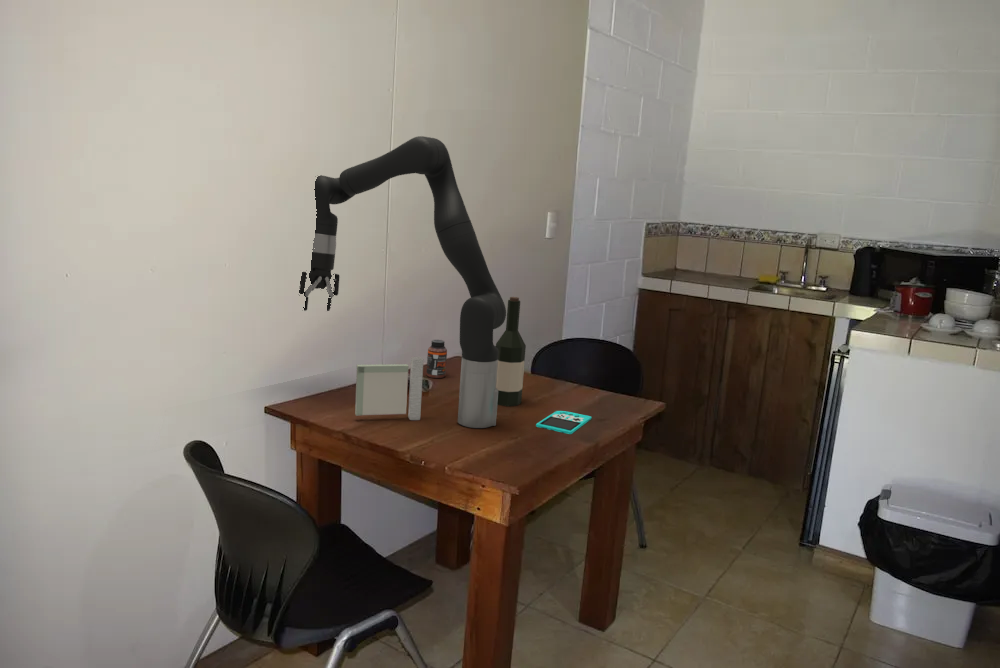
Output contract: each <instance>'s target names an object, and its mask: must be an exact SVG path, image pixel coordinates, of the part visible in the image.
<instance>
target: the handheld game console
mask: <svg viewBox="0 0 1000 668" xmlns="http://www.w3.org/2000/svg"><path fill="white" fill-rule="evenodd" d="M591 420H592V416H590V415H587V414H580V413H577V412H571V411H568V410H567V411H565V410H555V411H553V413H551V414H549V415H548V416H546V417H545V418H543V419H542V420H540V421H538V422H537V423H536V424H535V427H537V428H541V429H545V430H549V431H554V432H559V433H563V434H568V435H572V434H573V433H575V432H576V431H577V430H579V429H580V428H582V426H584V425H585V424H587V423H588V422H590V421H591Z"/></svg>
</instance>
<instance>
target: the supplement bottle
mask: <svg viewBox="0 0 1000 668" xmlns="http://www.w3.org/2000/svg"><path fill="white" fill-rule="evenodd" d="M447 356H448V349H447V348H446V346H445V340H442V339H432V340H431V344H430V346H429V347H428V349H427V357H426V358H427V361H426V376H427V377H429V378H430V379H431V378H432V379H443V378H445V377H446V373H447V358H448V357H447Z"/></svg>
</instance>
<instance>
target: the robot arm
mask: <svg viewBox="0 0 1000 668" xmlns="http://www.w3.org/2000/svg"><path fill="white" fill-rule="evenodd" d="M410 174H412V175H413V174H418V175H424V177H425V178H426V180H427V183H428V186H429V188H430V190H431V193H432V198H433V204H434V205H433V225H434V226H433V227H434V229H435V230H434V231H435V234H436V235H437V236H436V237H437V239H438V242H439V245H440V247H441V249H442V252H443V254H444V255H445V257H446V258H447V260H448V261H449V262H450V263H451V265H452V266H453V267H454V269H455V270H456V271H457V273H458V274H459V275H460V276H461V278H462V280H463V281H464V283H465V285H466V287H467V290H468V293H469V296H470V297H469V298H468V299H466V300H465V301H464V302H463V304H462V307H461V309H460V317H459V345H460V349H461V363H460V380H459V394H458V395H459V396H458V397H459V398H458V408H457V409H458V411H457V412H458V413H457V423H458V424H459V425H460V426H463V427H466V428H472V429H485V428H490V427H493V426H494V427H495V426H496V425H497V413H498V405H497V403H498V389H497V388H496V381H497V367H498V353H499V351H498V348H497V347H496V345H494V330H496V329H498V328H500V327H501V326H502V325H504V323H505V320H506V319H507V308H506V305H505V302H504V300H503V298H502V295H501V294H500V291H499V290H498V288H497V285H496V283H495V281H494V280H493V277H492V275H491V273H490V270H489V268H488V265H487V262H486V260H485V257H484V254H483V252H482V248H481V246H480V243H479V240H478V237H477V234H476V232H475V228H474V226H473V223H472V220H471V219H470V216H469V213H468V211H467V207H466V205H465V203H464V200H463V197H462V194H461V192H460V189H459V186H458V184H457V180H456V177H455V172H454V168H453V164H452V160H451V157H450V152H449V151H448V148H447V146H446V145H445V144H444V143H443V141H441V140H440V139H438V138H434V137H431V136H430V137H428V136H422V135H421V136H414V137H412V138H411V139H408V140H407V141H405V142H403V143H402V144H401V145H398V146H397V147H395V148H393V149H392V150H390V151H388V152H387V153H385V154H383V155H380V156H377V157H376V158H373V159H370V160H368V161H365V162H362V163H359V164H356V165H354V166H351V167H348V168H346V169H344V170H343V171H341V173H340V174H339V177H335V178H334V177H331V176H327V175H322V174H321V175H320V176H318V175H317V176H318V177H317V179H316V181H315V189H314V190H315V197H316V198H315V200H316V209H317V211H316V212H317V214H316V216H317V218H316V230H315V238H314V240H313V241H314V243H313V249H312V250H313V252H312V260H311V271H310V273H309V278H310V281H311V284H312V285H310V286H309V287H308V289H307V290H306V291H305V292H304V288H305V282H306V279H307V277H306V275H307V273H306V271H303V272H302V276H301V281H300V286H299V289H300V290H299V293H300V294H303V293H304V296H305V297H306V301H305V308H304V307H303V308H304V312H306V311H307V310H308V305H309V295H310V294H311V293H312V292H313V291H315V289H316V290H317V289H320V288H321V289H324V288H325V287H327V289H326V290H327V292H328V294H329V297H331V298H328V303H327V304H328V305H327V311H326V312H328V311H330V310H331V308H332V300H333V299H332V298H334V295H335V296H338V295H339V290H340V289H339V288H340V287H339V286H340V274H338V273H334V274H335V279H333V280H334V282H335V284H334V288H333V291H334V292H332V290H331V289H332V287H331V284H330V279H331V277H332V275H331V273H332V270H334V268H335V258H336V252H337V251H336V250H337V234H338V233H337V231H338V223H339V221H338V216H337V215H336V214H334V213H333V212H332V211H331V205H339V204H342V203H343V204H344V203H345V202H347V201H348V200H349V201H350V200H351V198H353V197H354V196H355V195H359V194H362V193H364V192H367V191H370V190H371V191H372V190H373V189H376V188H378V187H379V186H381V185H382V184H384V183H385V182H386V181H388V180H391V179H392V178H396V177H399V176H404V175H410ZM314 248H315V249H314ZM334 274H333V275H334ZM321 289H320V290H321ZM333 294H334V295H333ZM331 299H332V300H331ZM330 303H331V304H330ZM330 306H331V307H330Z"/></svg>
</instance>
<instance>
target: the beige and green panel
mask: <svg viewBox="0 0 1000 668" xmlns="http://www.w3.org/2000/svg"><path fill="white" fill-rule="evenodd" d="M409 368H410V367H409V364H407V363H406V364H405V363H404V364H402V363H401V364H400V363H399V364H397V363H395V364H394V363H393V364H391V363H390V364H386V363H385V364H356V379H355V380H356V381H355V403H354V404H355V408H354V409H355V410H354V411H355V412H354V414H355V416H356V417H357V416H377V415H378V416H379V415H380V416H381V415H383V416H384V415H407V404H408V403H407V400H408V382H409V381H408V380H409Z"/></svg>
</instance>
